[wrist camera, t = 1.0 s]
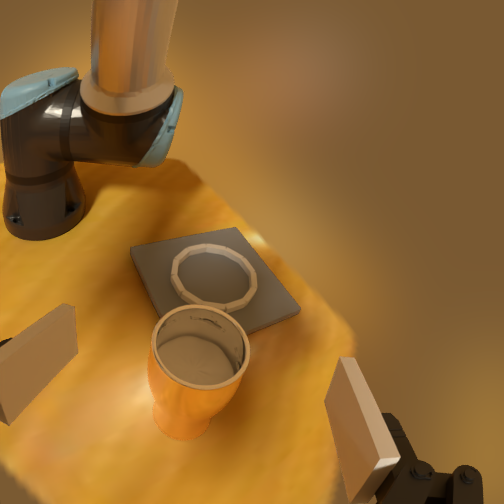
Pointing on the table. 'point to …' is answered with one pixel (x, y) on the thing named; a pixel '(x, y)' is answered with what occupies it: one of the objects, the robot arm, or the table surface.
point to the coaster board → (214, 278)
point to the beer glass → (194, 367)
